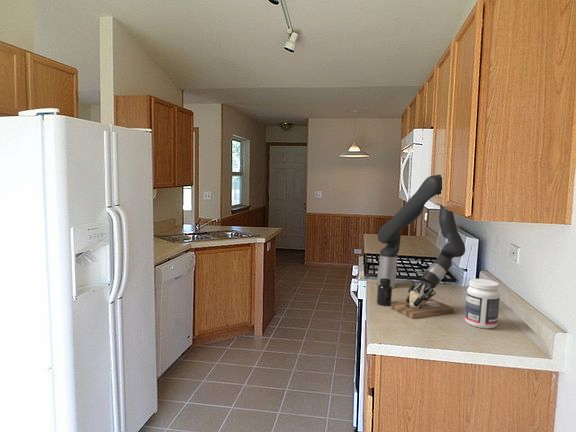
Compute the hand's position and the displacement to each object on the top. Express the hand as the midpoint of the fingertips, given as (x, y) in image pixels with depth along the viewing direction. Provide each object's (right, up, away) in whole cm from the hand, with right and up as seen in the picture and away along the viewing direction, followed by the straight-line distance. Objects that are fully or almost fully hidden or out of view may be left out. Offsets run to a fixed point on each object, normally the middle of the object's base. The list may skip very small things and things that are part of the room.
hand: (411, 303), depth 194 cm
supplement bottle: (-10, -3, +11) cm, 15 cm away
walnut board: (+6, -4, +3) cm, 8 cm away
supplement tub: (+26, -7, -11) cm, 29 cm away
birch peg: (+2, -4, +1) cm, 5 cm away
